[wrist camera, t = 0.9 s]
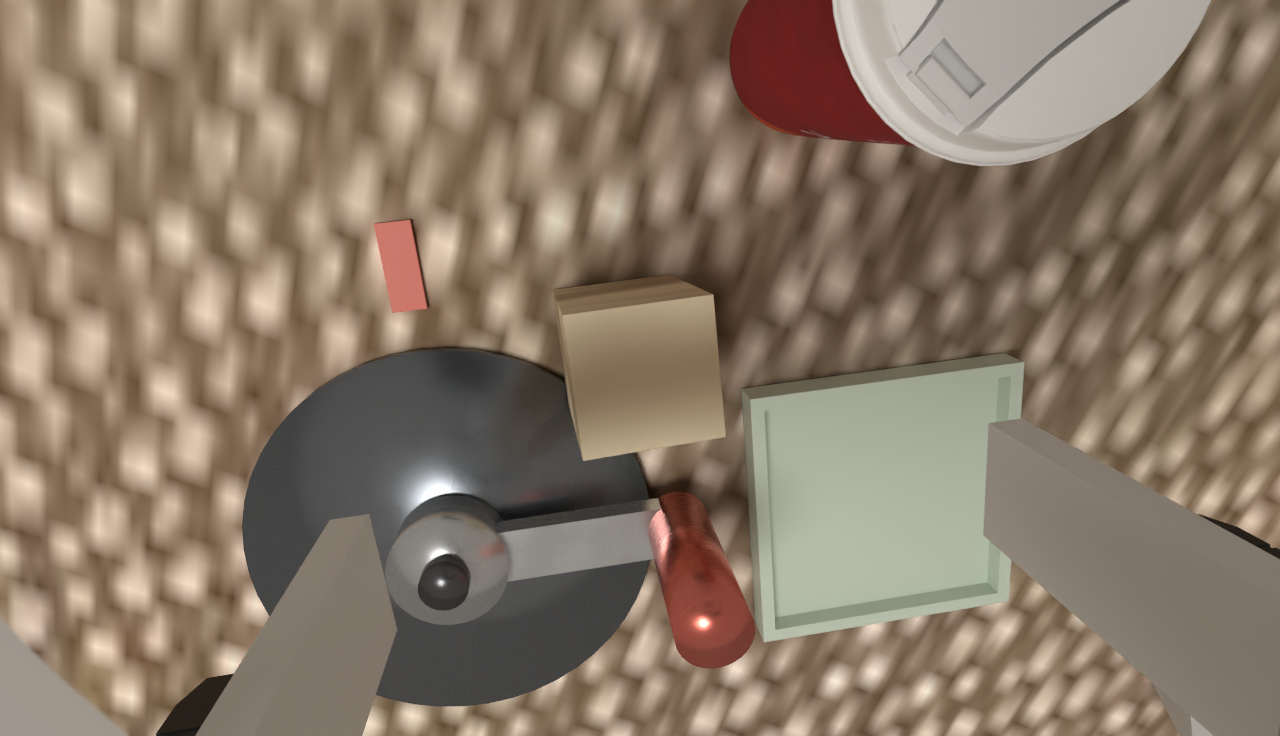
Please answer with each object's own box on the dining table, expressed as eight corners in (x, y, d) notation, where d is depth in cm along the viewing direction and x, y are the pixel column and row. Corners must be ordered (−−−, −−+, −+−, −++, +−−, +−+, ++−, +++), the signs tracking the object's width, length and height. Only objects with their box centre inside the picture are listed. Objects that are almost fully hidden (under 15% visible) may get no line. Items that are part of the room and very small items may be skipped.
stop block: (552, 290, 29) (562, 315, 22) (669, 274, 30) (713, 294, 23) (568, 404, 30) (583, 460, 24) (680, 386, 31) (725, 436, 24)
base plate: (195, 377, 29) (139, 411, 25) (630, 322, 30) (641, 346, 26) (302, 727, 34) (270, 801, 30) (666, 665, 35) (681, 728, 32)
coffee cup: (805, 204, 30) (1041, 246, 15) (657, 69, 27) (771, -29, 13) (942, 39, 28) (1339, -84, 14) (798, -116, 26) (1097, -450, 12)
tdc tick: (374, 223, 28) (373, 223, 27) (410, 219, 28) (409, 219, 28) (393, 311, 29) (392, 312, 29) (427, 307, 29) (426, 308, 29)
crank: (408, 602, 32) (358, 755, 24) (386, 504, 30) (323, 632, 22) (707, 555, 33) (758, 686, 25) (699, 459, 31) (751, 564, 23)
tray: (741, 388, 32) (750, 399, 30) (1003, 353, 33) (1024, 361, 31) (755, 622, 35) (764, 642, 34) (990, 583, 36) (1008, 601, 35)
